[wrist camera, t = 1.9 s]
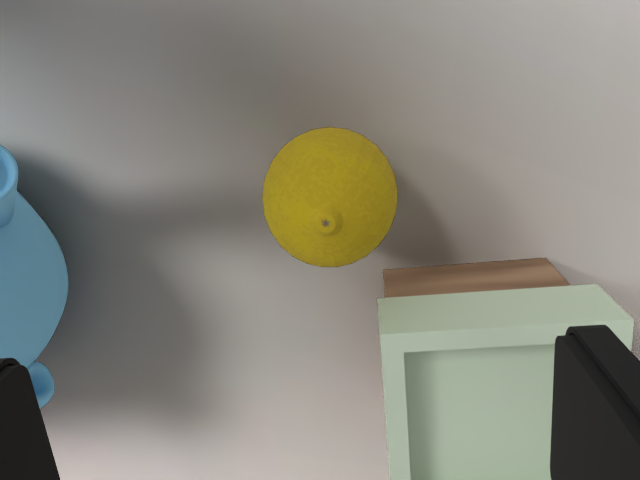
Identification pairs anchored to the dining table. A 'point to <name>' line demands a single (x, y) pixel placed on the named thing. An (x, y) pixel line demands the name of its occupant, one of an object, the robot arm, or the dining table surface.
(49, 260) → the teapot
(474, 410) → the sage top block
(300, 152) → the lemon
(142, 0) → the dining table surface
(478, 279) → the walnut block
